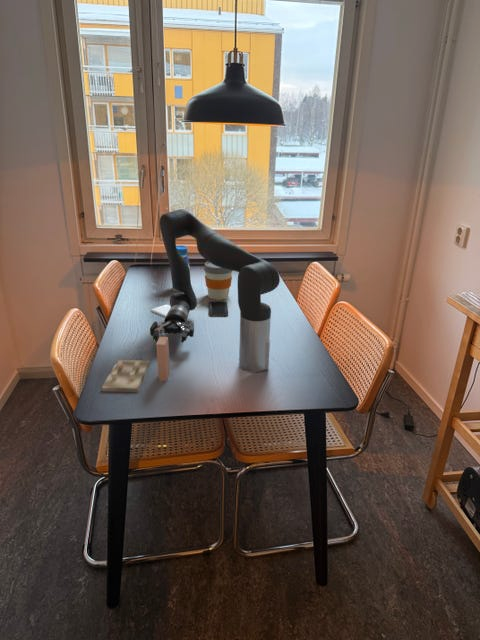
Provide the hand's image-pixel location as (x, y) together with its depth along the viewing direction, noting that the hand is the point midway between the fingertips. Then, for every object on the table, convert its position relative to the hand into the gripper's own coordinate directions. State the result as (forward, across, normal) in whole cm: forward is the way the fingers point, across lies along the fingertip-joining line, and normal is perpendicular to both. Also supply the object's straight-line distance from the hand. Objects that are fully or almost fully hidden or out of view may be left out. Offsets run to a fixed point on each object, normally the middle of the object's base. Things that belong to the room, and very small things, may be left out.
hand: (169, 339), depth 136 cm
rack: (+12, -11, +7) cm, 18 cm away
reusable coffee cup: (-59, +12, +7) cm, 60 cm away
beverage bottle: (-67, -6, +8) cm, 67 cm away
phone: (-43, +13, +8) cm, 45 cm away
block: (+11, 0, +7) cm, 13 cm away
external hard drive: (-38, -7, +8) cm, 39 cm away
